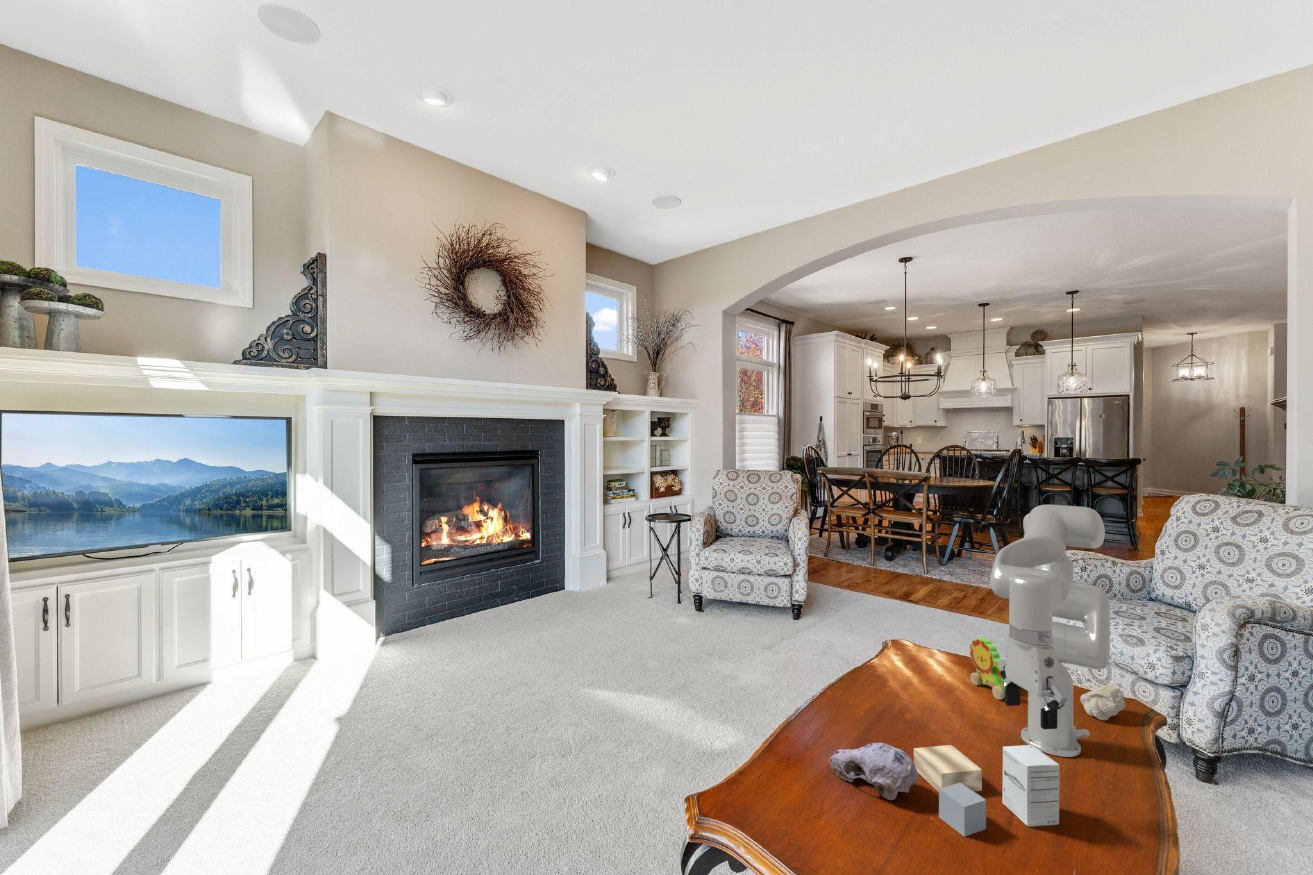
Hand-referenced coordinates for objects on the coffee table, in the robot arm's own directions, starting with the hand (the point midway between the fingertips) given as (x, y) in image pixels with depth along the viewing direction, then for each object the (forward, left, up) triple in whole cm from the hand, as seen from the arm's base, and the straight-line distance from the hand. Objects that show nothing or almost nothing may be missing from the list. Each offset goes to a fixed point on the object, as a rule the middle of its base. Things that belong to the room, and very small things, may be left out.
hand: (1030, 716), depth 115 cm
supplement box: (0, 0, -21) cm, 21 cm away
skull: (+27, -14, -21) cm, 37 cm away
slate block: (+16, +1, -21) cm, 26 cm away
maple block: (+10, -13, -21) cm, 27 cm away
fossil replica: (-53, -36, -21) cm, 68 cm away
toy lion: (-32, -54, -21) cm, 67 cm away
